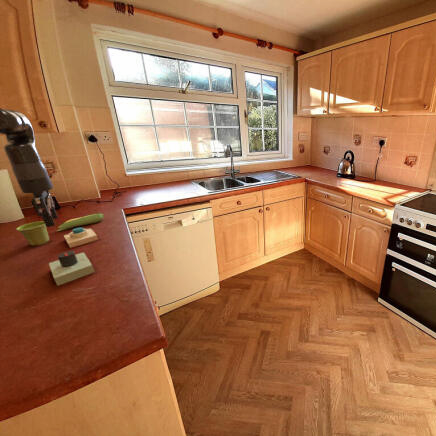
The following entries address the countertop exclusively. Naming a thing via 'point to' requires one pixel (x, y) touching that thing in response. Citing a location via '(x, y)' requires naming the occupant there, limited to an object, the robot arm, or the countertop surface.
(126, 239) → the countertop surface
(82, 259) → the panel
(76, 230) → the button
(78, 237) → the button box
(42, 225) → the plant pot
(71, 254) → the dial
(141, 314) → the countertop surface
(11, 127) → the robot arm
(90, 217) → the green cucumber
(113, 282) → the countertop surface
